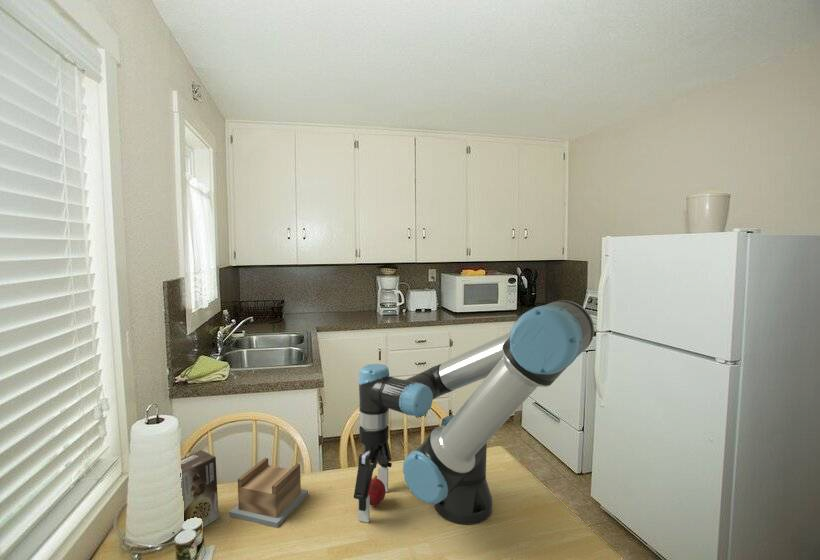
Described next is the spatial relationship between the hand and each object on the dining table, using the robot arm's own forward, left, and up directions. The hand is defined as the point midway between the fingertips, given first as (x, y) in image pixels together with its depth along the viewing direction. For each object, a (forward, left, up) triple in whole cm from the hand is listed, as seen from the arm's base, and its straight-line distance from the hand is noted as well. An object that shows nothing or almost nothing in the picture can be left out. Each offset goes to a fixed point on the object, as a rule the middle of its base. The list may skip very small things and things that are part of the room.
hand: (374, 504), depth 107 cm
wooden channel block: (+26, +8, +1) cm, 27 cm away
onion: (0, 0, 0) cm, 0 cm away
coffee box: (+39, +20, 0) cm, 44 cm away
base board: (+26, +8, 0) cm, 27 cm away
